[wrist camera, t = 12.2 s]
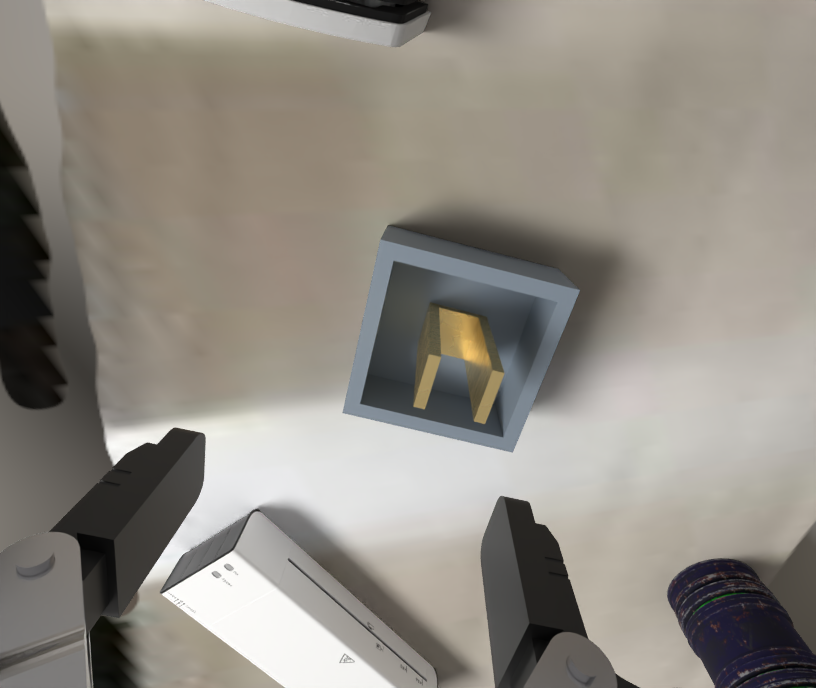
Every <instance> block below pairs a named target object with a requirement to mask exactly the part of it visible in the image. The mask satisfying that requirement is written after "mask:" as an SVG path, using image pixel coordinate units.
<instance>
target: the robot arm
mask: <svg viewBox="0 0 816 688" xmlns="http://www.w3.org/2000/svg"><path fill="white" fill-rule="evenodd" d="M204 465H205V435H204V434H203V433H200V432H195V431H190V430H185V429H180V428H173V429H171V430H170V431H169V432H168V433H167V434H166V436H165V437H164V438H163V439H162V440H161V441H160V442H159V443H158V444H152V443H145V444H143V445H142V446H140V447H138V448H136V449H134V450H132V451H130V452H128V453H127V454H126V455H125V456H124V457H123V458H122V459H121V460H120V461H119V462H118V463H117V464H116V465H115V466H114V467H113V468H112V470H111V471H109V472H108V473H107V474H106V475H105V476H104V477H103V478H102V479H101V480H100V483H99V484H98V483H97V484H96V485H95V486H94V487H93V488H92V489H91V490H90V491H89V492H88V493H87V494H86V495H85V496H84V497H83V498H82V499H81V500H80V501H79V502H78V503H77V504H76V505H75V506H74V507H73V508H72V509H71V510H70V511H69V512H68V513H67V514H66V515H65V516H64V517H63V518H62V519H61V520H60V521H59V523H57V524H56V526H54V527H53V529H51V530H50V531H49V532H45V533H39V534H35V535H32V536H29V537H26V538H24V539H21V540H19V541H17V542H15V543H13V544H12V545H10V546H8V547H7V548H6V549H4V550H3V551H2V552H1V553H0V688H93V681H92V666H91V651H90V637H89V631H90V630H91V629H92V627H93V626H94V624H95V623H96V621H97V620H98V619H99V617H100V616H101V615H106V616H111V617H116V618H120V616H121V615H122V613H123V611H124V610H125V609H126V607H127V606H128V604H129V603H130V601H131V599H132V598H133V596H134V595H135V593H136V592H137V590H138V589H139V587H140V586H141V584H142V583H143V581H144V580H145V578H146V577H147V575H148V574H149V572H150V571H151V569H152V568H153V566H154V565H155V563H156V562H157V560H158V559H159V557H160V556H161V554H162V553H163V551H164V550H165V548H166V547H167V545H168V544H169V542H170V540H171V539H172V537H173V536H174V534H175V533H176V531H177V530H178V528H179V527H180V525H181V524H182V522H183V521H184V519H185V518H186V516H187V515H188V513H189V512H190V510H191V509H192V507H193V506H194V504H195V503H196V501H197V499H198V497H199V495H200V492H201V489H202V486H203V481H204ZM563 561H564V560H563V557H562V554H561V551H560V547H559V544H558V542H557V541H556V539H555V538H554V536H553V535H552V534H551V532H550V531H549V529H548V528H547V527H546V525H541V524H536V523H535V520H534V517H533V513H532V509H531V506H530V503H529V502H527V501H523V500H518V499H513V498H509V497H504V496H500V497H499V499H498V500H497V503H496V505H495V508H494V511H493V513H492V516H491V518H490V521H489V523H488V526H487V529H486V531H485V534H484V537H483V540H482V546H481V567H482V576H483V585H484V593H485V602H486V611H487V620H488V628H489V637H490V646H491V654H492V663H493V672H494V681H495V688H639V687H638V686H636V685H634V684H632V683H630V682H628V681H626V680H624V679H623V678H621V677H620V676H618V675H617V674H616V673H615V671H614V669H613V667H612V665H611V663H610V661H609V660H608V658H607V657H606V655H605V654H604V653H603V652H602V651H601V650H600V648H599V647H597V646H596V645H595V644H594V643H593V642H591V641H590V640H589V639H588V637H587V634H586V630H585V627H584V624H583V621H582V618H581V614H580V611H579V608H578V605H577V602H576V598H575V595H574V592H573V589H572V586H571V582H570V579H568V573H567V570H566V567H565V564H563Z"/></svg>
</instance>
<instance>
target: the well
mask: <svg viewBox="0 0 816 688" xmlns="http://www.w3.org/2000/svg"><path fill="white" fill-rule="evenodd" d="M579 292H580V290H579V289H578V288H577V287H576V286H575V285H574V284H573V283H572V282H571V281H570V280H569V279H568V278H567V277H566V276H565V275H564V274H563V273H562V272H561V271H560V270H559V269H557V268H553V267H549V266H545V265H541V264H537V263H533V262H529V261H525V260H522V259H518V258H514V257H510V256H506V255H502V254H498V253H494V252H490V251H486V250H483V249H479V248H475V247H471V246H467V245H463V244H459V243H455V242H451V241H448V240H444V239H440V238H436V237H432V236H428V235H424V234H420V233H416V232H412V231H409V230H405V229H401V228H397V227H393V226H389V225H388V226H387V228H386V230H385V232H384V234H383V236H382V238H381V239H380V244H379V249H378V253H377V258H376V262H375V267H374V271H373V276H372V281H371V285H370V290H369V294H368V299H367V304H366V308H365V313H364V317H363V322H362V326H361V331H360V336H359V340H358V345H357V349H356V354H355V359H354V363H353V368H352V372H351V377H350V381H349V386H348V391H347V395H346V400H345V404H344V409H343V413H345V414H350V415H354V416H358V417H362V418H367V419H371V420H375V421H380V422H384V423H388V424H393V425H397V426H401V427H405V428H410V429H414V430H418V431H423V432H427V433H431V434H435V435H440V436H444V437H448V438H453V439H457V440H461V441H466V442H470V443H474V444H478V445H483V446H487V447H491V448H496V449H500V450H504V451H508V452H513V451H514V448H515V446H516V443H517V441H518V439H519V436H520V434H521V431H522V429H523V427H524V424H525V422H526V419H527V417H528V415H529V412H530V410H531V407H532V405H533V403H534V400H535V398H536V395H537V393H538V391H539V388H540V386H541V383H542V381H543V379H544V376H545V374H546V371H547V369H548V366H549V364H550V362H551V359H552V357H553V354H554V352H555V350H556V347H557V345H558V342H559V340H560V338H561V335H562V333H563V330H564V328H565V326H566V323H567V321H568V318H569V316H570V314H571V311H572V309H573V306H574V304H575V302H576V299H577V297H578V294H579ZM430 302H431V303H435V304H439V305H443V306H447V307H451V308H455V309H459V310H462V311H466V312H470V313H474V314H478V315H482V316H486V317H487V319H488V322H489V326H490V329H491V332H492V335H493V338H494V341H495V344H496V347H497V351H498V354H499V357H500V360H501V363H502V366H503V369H504V373H505V374H504V376H503V379H502V382H501V384H500V387H499V389H498V392H497V394H496V397H495V400H494V402H493V405H492V407H491V410H490V413H489V415H488V418H487V420H486V423H485V424H482V423H478V422H474V420H473V414H472V407H471V400H470V394H469V387H468V381H467V374H466V368H465V361H464V359H460V358H456V357H452V356H448V355H444V354H441V360H440V363H439V366H438V369H437V372H436V376H435V379H434V382H433V385H432V388H431V391H430V395H429V398H428V401H427V404H426V407H425V409H421V408H417V407H413V403H414V388H415V374H416V360H417V345H418V341H419V337H420V334H421V330H422V327H423V324H424V320H425V317H426V313H427V310H428V306H429V303H430Z"/></svg>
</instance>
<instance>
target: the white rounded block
mask: <svg viewBox="0 0 816 688" xmlns="http://www.w3.org/2000/svg"><path fill="white" fill-rule="evenodd" d="M204 1H207V2H210V3H214V4H217V5H220V6H223V7H226V8H229V9H232V10H236V11H239V12H243V13H246V14H250V15H253V16H257V17H260V18H264V19H267V20H271V21H275V22H279V23H282V24H286V25H290V26H294V27H298V28H303V29H307V30H311V31H315V32H320V33H324V34H328V35H333V36H337V37H342V38H346V39H351V40H357V41H362V42H367V43H372V44H378V45H383V46H388V47H400V46H402V45H404V44H405V43H407V42H408V41H410V40H411V39H413V38H415V37H416V36H418V35H419V34H421V33H423V31H424V29H425V27H426V25H427V22H428V19H429V17H430V14H431V12H428V11H427V6H428V4H425V3H422V2H418V0H204Z"/></svg>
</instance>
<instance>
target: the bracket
mask: <svg viewBox="0 0 816 688" xmlns="http://www.w3.org/2000/svg"><path fill="white" fill-rule="evenodd" d="M441 354H444V355H448V356H452V357H456V358H460V359H464V361H465V368H466V374H467V381H468V387H469V394H470V400H471V407H472V414H473V420H474V422H478V423H482V424H485V423H486V420H487V418H488V415H489V413H490V410H491V407H492V405H493V402H494V400H495V397H496V394H497V392H498V389H499V387H500V384H501V382H502V379H503V376H504V374H505V373H504V369H503V366H502V363H501V360H500V357H499V354H498V351H497V347H496V344H495V341H494V338H493V335H492V332H491V329H490V326H489V322H488V319H487V317H486V316H482V315H478V314H474V313H470V312H466V311H462V310H459V309H455V308H451V307H447V306H443V305H439V304H435V303H431V302H430V303H429V306H428V310H427V313H426V317H425V320H424V324H423V327H422V330H421V334H420V337H419V341H418V345H417V360H416V374H415V388H414V403H413V407H417V408H421V409H425V407H426V404H427V401H428V398H429V395H430V391H431V388H432V385H433V382H434V379H435V376H436V372H437V369H438V366H439V363H440V360H441Z"/></svg>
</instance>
